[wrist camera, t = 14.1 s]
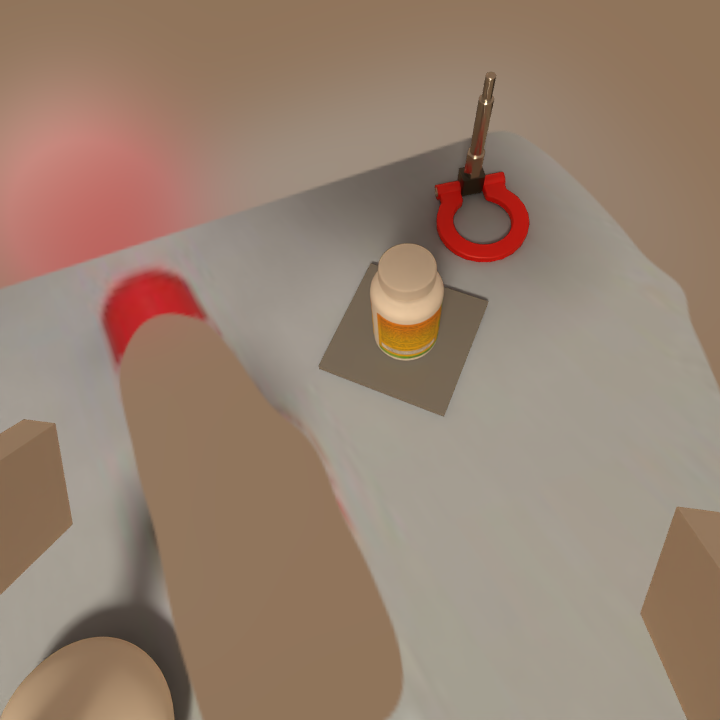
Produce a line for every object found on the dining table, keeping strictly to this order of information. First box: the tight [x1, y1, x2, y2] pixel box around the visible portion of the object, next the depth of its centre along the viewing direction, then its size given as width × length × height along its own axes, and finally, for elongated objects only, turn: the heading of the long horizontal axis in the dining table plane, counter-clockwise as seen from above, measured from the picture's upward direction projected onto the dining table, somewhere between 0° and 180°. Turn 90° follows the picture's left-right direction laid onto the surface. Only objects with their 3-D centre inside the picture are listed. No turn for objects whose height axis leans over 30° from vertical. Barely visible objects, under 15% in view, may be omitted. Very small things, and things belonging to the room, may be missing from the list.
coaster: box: [319, 263, 488, 416], centre depth 44 cm, size 11×11×1 cm
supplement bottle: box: [370, 244, 444, 361], centre depth 39 cm, size 5×5×10 cm
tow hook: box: [435, 72, 529, 262], centre depth 43 cm, size 8×13×9 cm
